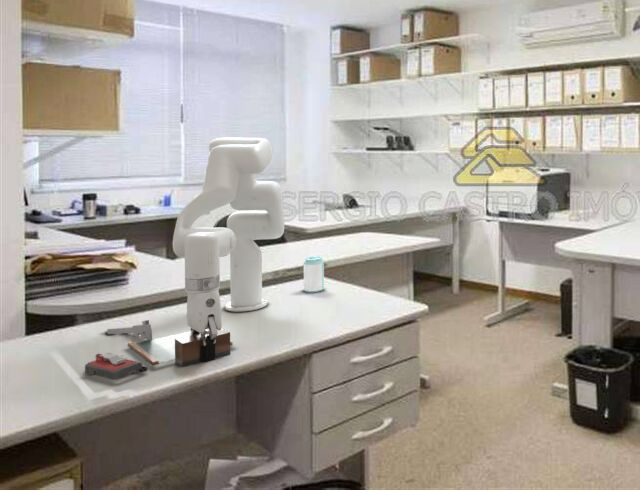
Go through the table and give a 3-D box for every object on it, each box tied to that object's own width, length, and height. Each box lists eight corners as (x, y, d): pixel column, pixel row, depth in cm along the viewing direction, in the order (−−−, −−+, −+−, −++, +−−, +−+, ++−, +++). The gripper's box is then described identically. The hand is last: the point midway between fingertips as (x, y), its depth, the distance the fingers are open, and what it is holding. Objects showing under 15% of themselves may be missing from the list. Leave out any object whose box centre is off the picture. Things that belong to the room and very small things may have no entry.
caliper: (152, 343, 153) (152, 320, 153) (148, 345, 152) (148, 321, 152) (108, 332, 162) (108, 310, 162) (104, 333, 161) (104, 311, 161)
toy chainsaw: (156, 371, 134) (101, 359, 142) (156, 353, 134) (101, 341, 142) (118, 386, 126) (62, 372, 134) (118, 366, 126) (62, 353, 134)
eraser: (174, 361, 137) (174, 338, 137) (222, 349, 145) (222, 328, 145) (182, 367, 134) (182, 343, 134) (230, 354, 142) (230, 332, 142)
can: (300, 292, 207) (299, 259, 206) (309, 287, 214) (309, 255, 213) (318, 293, 205) (318, 260, 205) (327, 288, 212) (327, 256, 212)
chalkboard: (128, 349, 149) (128, 342, 149) (202, 332, 162) (202, 326, 162) (153, 369, 135) (153, 362, 135) (232, 349, 149) (232, 342, 149)
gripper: (233, 286, 136) (233, 362, 137) (205, 275, 148) (205, 345, 148) (199, 292, 131) (200, 371, 131) (173, 280, 142) (174, 353, 143)
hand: (203, 356), depth 140 cm, fingers closed on eraser, 5 cm apart
